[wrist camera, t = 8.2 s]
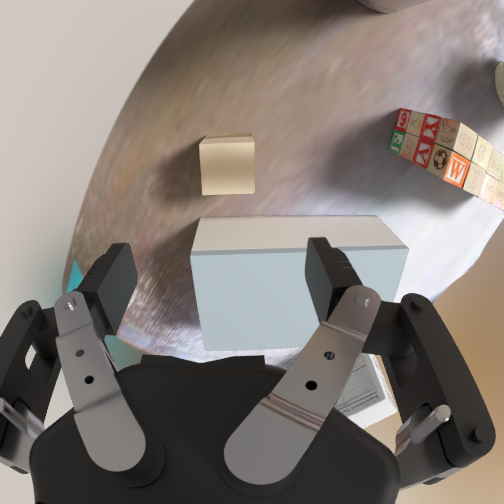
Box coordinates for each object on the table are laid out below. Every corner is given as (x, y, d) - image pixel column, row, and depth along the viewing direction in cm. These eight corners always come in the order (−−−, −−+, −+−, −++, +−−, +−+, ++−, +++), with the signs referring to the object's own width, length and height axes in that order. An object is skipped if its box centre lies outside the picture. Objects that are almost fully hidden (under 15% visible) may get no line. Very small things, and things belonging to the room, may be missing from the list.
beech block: (207, 134, 30) (199, 144, 24) (250, 133, 30) (254, 142, 24) (209, 175, 32) (202, 195, 26) (251, 174, 33) (254, 193, 27)
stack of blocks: (489, 160, 31) (540, 188, 21) (478, 193, 34) (526, 227, 24) (398, 107, 28) (461, 121, 18) (386, 150, 31) (443, 180, 21)
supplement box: (331, 364, 54) (349, 434, 39) (310, 345, 49) (329, 425, 35) (371, 343, 51) (399, 412, 36) (355, 320, 47) (387, 399, 32)
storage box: (200, 217, 35) (191, 250, 28) (377, 215, 36) (404, 244, 29) (209, 301, 42) (206, 340, 36) (358, 294, 43) (375, 328, 36)
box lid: (191, 250, 28) (189, 255, 27) (404, 244, 29) (409, 248, 28) (205, 345, 35) (205, 350, 34) (377, 332, 36) (380, 337, 35)
